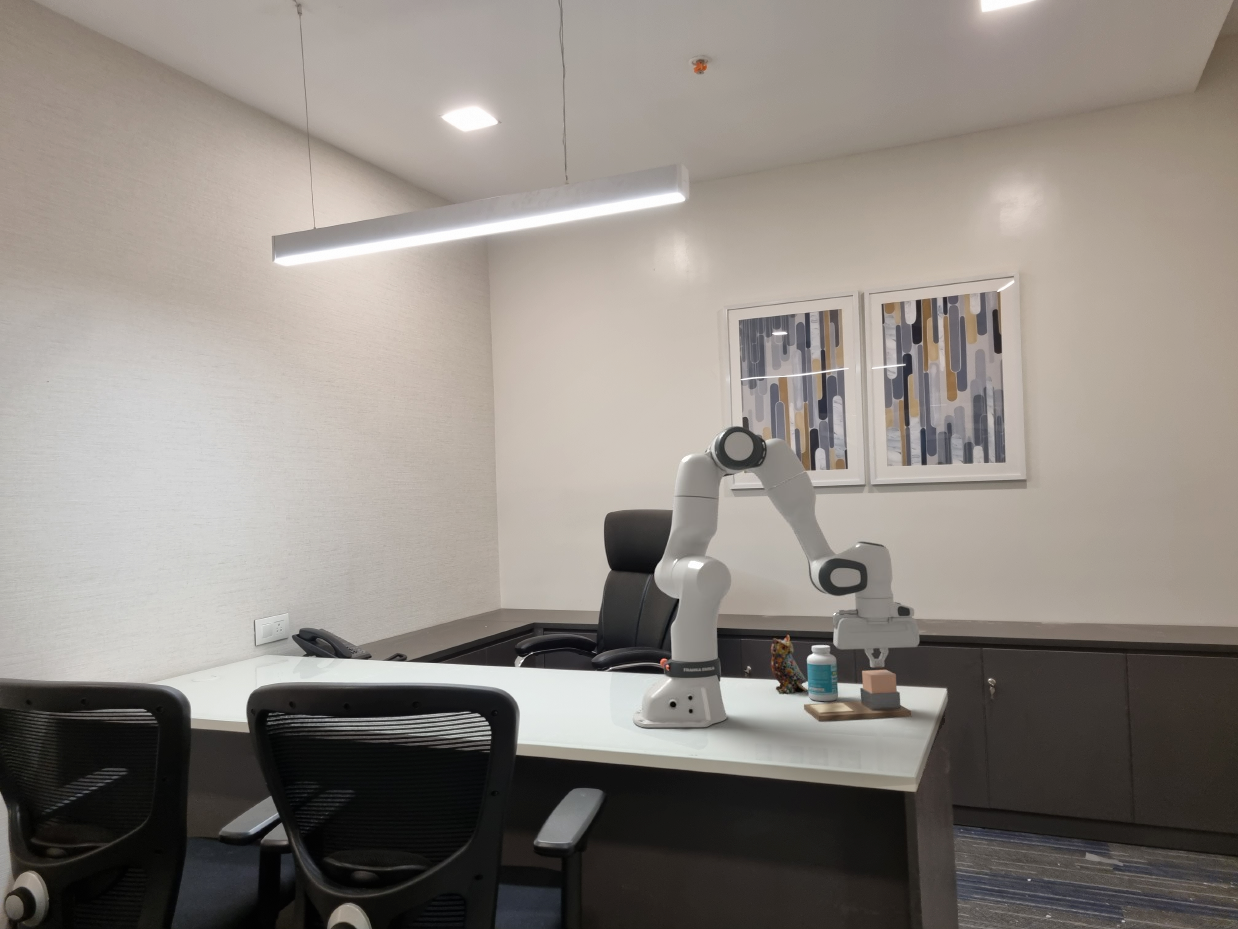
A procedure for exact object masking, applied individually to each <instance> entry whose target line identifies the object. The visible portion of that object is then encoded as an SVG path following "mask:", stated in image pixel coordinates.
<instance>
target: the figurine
mask: <svg viewBox="0 0 1238 929" xmlns="http://www.w3.org/2000/svg"><path fill="white" fill-rule="evenodd" d="M790 639H791V638H790V635H789V634H786V637H785V638H784V639H777V638H773V639H772V643H771V646H770V653H771V661H770V669H771V671H772V674H773V676H774V677H775V679H776V681H777V682H778V683H779V685H777V686H776V687H775V690H777V693H779V694H785V695H789V694H790V693H791V694H792V693H807V691H808V689H807V688H806V687H805V686H804V685H803V684H804V683H805V684H806V683H807V679H806V678H805V676H804V674H803V673H802V671H801V670H800V668H799V666H798V665H797V662H796V661H795V659H794V657H793V653H794V651H795V650H794V645H793V643H792V642H791V641H790Z"/></svg>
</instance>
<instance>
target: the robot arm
mask: <svg viewBox="0 0 1238 929" xmlns="http://www.w3.org/2000/svg"><path fill="white" fill-rule="evenodd" d="M745 471H749V472H751V473H753V474H754V475H755V476H756V477H757V479H759V481H760V482H761V485H762V486H763V489H764V491H765V493H766V494H767V497H768V498H769V500H770V502H771V503H772V505H773V506H774V508H776V510H777V511H778V513H779V514H780V515H781V516H782V517H783V519H784V520H785V522H787V524H789V526H790V528H792V530H793V532H794V534H795V536H796V538H797V540H798V542H799V545H800V546H801V548H802V551H803V552H804V554H805V556H806V559H807V564H808V576H809V579H810V582H811V584H812V585H813V587H814V588H815V590H817V591H818V592H820V593H822V594H825V595H826V594H827V595H830V596H833V597H842V596H843V597H844V596H846V595H851V594H854V596H855V599H854V600H855V601H854V602H855V609H845V610H844V609H839V610H838V611H836V612H835V613H834V614H833V615H832V626H833V628H834V629H833V639H832V640H833V642H832V643H833V645H834V646H835V647H836V649H838V650H864V653H865V654H866V656H867V658H868V659H869V666H870V667H871V668H884V667H885V660H886V658H887V656H888V655H889V649H896V648H917V647H918V645H919V644H920V632H919V627H918V622H917V620H916V619H915V618H914V616H915V609H914V608H913V607H911V606H908V605H905V604H902V603H901V602H896V601H894V594H893V590H892V581H893V569H892V568H893V566H892V559H891V554H890V550H889V549H888V548H887V547H886V545H883V544H880V543H877V542H876V543H875V542H869V541H858V542H856V543H855V544H854V545H852V546H851V547H849V548H848V549H846V550H844V551H842V552H840V553H836V552H834V551H833V550H832V549H831V547H830V544H829V543H828V540H827V539H826V537H825V534H824V533H823V531H822V529H821V527H820V524H819V523H818V521H817V520H818V519H817V517H816V508H815V507H816V502H817V501H816V500H817V494H816V491H815V488H814V485H813V482H812V480H811V478H810V475H809V474H808V472H807V471H806V468H805V467H804V465H803V462H801V460H800V458H799V457H798V456H797V454H796V453H795V451H794V450H793V448H792V447H791V445H789V444H788V443H787V441H786V440H785V439H782V438H775V437H774V438H769V439H766V440H765V439H763V438H762V437H760V436H759V435H757V434H755V433H754V431H751V430H750V429H749V428H746V427H745V426H744V427H743V426H738V425H736V426H735V425H734V426H730V427H726V428H724V429H723V430H722V431H720V432H719V433H718V434H716V435H715V437H714V438H713V439H712V441H711V443H709V445H708V447H707V448H706V450H705V452H703V453H699V452H698V453H696V452H695V453H694V452H693V453H690V454H688V455H686V456H684V457H683V458H682V459H681V460H680V461H679V464H678V468H677V474H676V478H675V484H674V490H673V491H674V492H673V507H672V514H671V515H672V516H671V527H670V532H669V536H668V540H667V544H666V546H665V549H664V553H663V555H662V558H661V559H660V561H659V562H658V563H657V565H656V567H655V569H654V582H655V585H656V587H657V588H658V589H659V590H660V591H661V592H662V593H664V594H666V595H667V596H669V598H673V599H679V603H678V609H677V612H676V615H675V616H676V617H675V618H674V621H673V622H672V624H671V626H670V640H671V641H670V642H671V658H670V659H666V658H662V659H661V660H660V666H661V667H662V668H663V674H664V675H662V677H660V678H659V679H658V680H657V681H656V682H654V683H653V684H652V685H651V686H650V687H648V689H646V691H645V692H644V694H643V697H642V703H641V710H639V709H638V710H637V711H635V712H634V713H633V715H632V720H633V723H634V724H635V725H636V726H638V727H641V728H707V727H709V726H711V725H713V724H717V723H720V722H723V721H725V720H726V719H727V718H728V715H727V712H726V709H725V705H724V702H723V696H722V690H721V683H720V682H721V677H722V671H721V661H720V658H719V657H718V656H719V655H718V632H717V631H718V629H717V628H718V620H719V616H720V609H721V604H722V602H723V600H724V598H725V597H726V596H727V595H728V593H729V591H730V589H731V586H732V575H731V571H730V569H729V568H728V566H727V565H726V564H725V563H724V562H722V561H721V560H719V559H716V558H714V557H712V556H709V555H706V554H707V550H708V547H709V545H710V542H711V540H712V539H713V538H714V536H715V535H716V533H717V530H718V519H719V518H718V516H719V501H720V486H721V482H722V479H723V478H724V477H727V476H728V477H729V476H733V475H737V474H740V473H742V472H745ZM874 649H879V652H881V653H880V655H879V657H878V658H875V657H874V655H873V654H874Z"/></svg>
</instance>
